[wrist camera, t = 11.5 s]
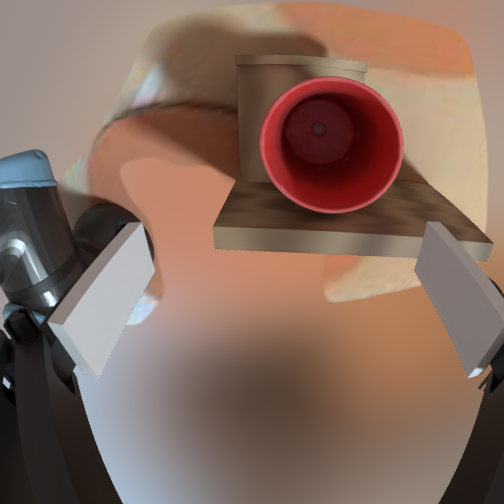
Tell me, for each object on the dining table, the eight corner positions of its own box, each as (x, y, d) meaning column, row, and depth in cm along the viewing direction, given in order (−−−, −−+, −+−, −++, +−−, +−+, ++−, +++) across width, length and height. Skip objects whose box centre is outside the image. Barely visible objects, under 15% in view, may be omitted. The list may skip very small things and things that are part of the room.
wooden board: (242, 184, 36) (214, 248, 23) (241, 169, 35) (212, 226, 22) (427, 197, 34) (486, 261, 20) (429, 184, 32) (493, 243, 19)
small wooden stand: (245, 169, 35) (238, 184, 30) (243, 61, 27) (235, 55, 22) (347, 174, 34) (358, 190, 29) (353, 67, 26) (367, 63, 21)
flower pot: (275, 71, 24) (271, 60, 16) (378, 97, 24) (418, 102, 16) (259, 166, 30) (248, 199, 21) (355, 187, 29) (381, 226, 21)
